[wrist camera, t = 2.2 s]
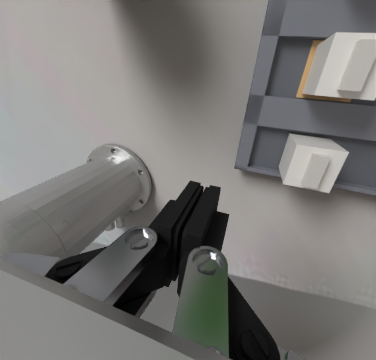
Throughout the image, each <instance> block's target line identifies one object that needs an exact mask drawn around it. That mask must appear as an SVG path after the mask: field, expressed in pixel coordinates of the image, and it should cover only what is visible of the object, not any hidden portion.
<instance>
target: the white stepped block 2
mask: <svg viewBox="0 0 376 360" xmlns="http://www.w3.org/2000/svg"><path fill="white" fill-rule="evenodd" d="M348 154H349V152H348V151H347V150H345V149H344V148H342V147H341V146H340V145H338V144H337V143H335V142H334V141H332V140H331V139H327V138H320V137H312V136H305V135H298V134H291V133H289V136H288V139H287V142H286V145H285V148H284V151H283V154H282V157H281V161H280V164H279V170H280V174H281V178H282V182H283V184H285V185H290V186H295V187H300V188H305V189H310V190H315V191H320V192H325V193H330V191H331V189H332V186H333V184H334V182H335V180H336V178H337V176H338V174H339V172H340V170H341V168H342V166H343V164H344V162H345V160H346V158H347V156H348Z"/></svg>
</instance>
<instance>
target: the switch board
mask: <svg viewBox="0 0 376 360" xmlns="http://www.w3.org/2000/svg"><path fill="white" fill-rule="evenodd" d="M336 32H349V33H376V0H269V2H268V6H267V11H266V16H265V21H264V26H263V31H262V36H261V41H260V45H259V50H258V55H257V60H256V65H255V70H254V75H253V80H252V84H251V89H250V94H249V99H248V104H247V109H246V114H245V119H244V123H243V128H242V133H241V138H240V143H239V148H238V153H237V158H236V162H235V167H234V168H235V169H240V170H245V171H250V172H256V173H261V174H266V175H271V176H277V177H281V174H280V170H279V164H280V161H281V157H282V154H283V151H284V148H285V145H286V142H287V139H288V136H289V133H291V134H298V135H305V136H312V137H320V138H327V139H331V140H332V141H334V142H335V143H337V144H338V145H340V146H341V147H342V148H344V149H345V150H347V151H348V152H349V154H348V156H347V158H346V160H345V162H344V164H343V166H342V168H341V170H340V172H339V174H338V176H337V178H336V180H335V182H334V184H333V186H332V187H334V188H339V189H344V190H350V191H355V192H360V193H365V194H370V195H376V98H375V100H374V101H373V100H362V99H351V98H340V97H328V96H317V95H309V94H302V92H303V89H304V86H305V82H306V79H307V76H308V73H309V70H310V67H311V64H312V61H313V57H314V54H315V51H316V48H317V45H319V44H320V43H321V42H323V41H324V40H326V39H327V38H329V37H330V36H331V35H333V34H334V33H336Z"/></svg>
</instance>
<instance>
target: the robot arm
mask: <svg viewBox="0 0 376 360" xmlns="http://www.w3.org/2000/svg"><path fill="white" fill-rule="evenodd" d="M220 189H221V187H216V186H212V185H210V187H206V188H205V190H204V192H203V186H200V183H198V182H194V181H190V182H189V183H188V185H187V186H186V187H185V189H184V190H183V191H182V193H181V194H180V196H179V197H178V198H177V200H176V201H175V200H170V201H169V202H168V203H167V204H166V205H165V207H164V208H163V209H162V211H161V212H160V213H159V214H158V216H157V217H156V218H155V219H154V221H153V222H152V223H151V225H150V226H149V227H148V228H147V227H134V228H132V229H129V230H128V231H126V232H125V233H124V234H122V235H121V236H120V237H119V238H118V239H116V240H115V241H114V242H113V243H112V244H110V245H109V246H107V247H104V248H100V249H97V250H93V251H89V252H86V253H82V254H80V253H81V252H82V251H83V250H84V249H85V248H86V247H87V246H89V245H90V244H91V243H92V242H93V241H94V240H95V239H96V238H97V237H98V236H99V235H100V234H101V233H102V232H104V231H105V230H106V231H110V230H113V229H114V228H115V224H114V221H115V220H116V226H117V228H123V227H124V219H123V217H124V216H125V215H126V214H127V213H128V212H133V211H137V210H139V209H141V208H142V207H143V206H144V205H145V204H146V203H147V202H148V200H149V198H150V196H151V191H152V184H151V179H150V175H149V173H148V170H147V169H146V167H145V165H144V164H143V162H142V161H141V160H140V159H139V158H138V157H137V156H136V155H135V154H134V153H133V152H131V151H130V150H128V149H127V148H124V147H122V146H119V145H115V144H107V145H103V146H100V147H98V148H96V149H95V150H93V151H92V152H91V154H90V155H89V157H88V159H87V163H86V164H84V165H82V166H79V167H77V168H75V169H73V170H70V171H68V172H66V173H64V174H61V175H59V176H57V177H54V178H52V179H50V180H48V181H45V182H43V183H41V184H39V185H36V186H34V187H32V188H30V189H27V190H25V191H23V192H21V193H18V194H16V195H14V196H12V197H9V198H7V199H5V200H3V201H0V360H305V359H303V358H302V357H300V356H299V355H297V354H295V353H294V352H292V351H291V350H289V349H288V351H287V352H286V351H285V350H283V349H282V348H280V347H279V346H277V345H276V343H275V341H274V340H273V338H272V336H271V335H270V333H269V332H268V330H267V329H266V328H265V326H264V325H263V324H262V322H261V321H260V319H259V318H258V317H257V315H256V314H255V313H254V311H253V310H252V309H251V307H250V306H249V304H248V303H247V302H246V300H245V299H244V298H243V296H242V295H241V293H240V292H239V291H238V289H237V288H236V286H235V285H234V284H233V282H232V281H231V280H230V278H229V277H228V264H227V260H226V258H225V256H224V255H223V254H222V253H221V249H222V245H223V241H224V236H225V232H226V227H227V223H228V218H229V214H226V213H222V212H218V211H217V206H218V201H219V195H220ZM178 274H179V277H178V289H177V293H178V295H179V303H178V308H177V312H176V317H175V322H174V327H173V331H172V333H171V332H169V331H167V330H165V329H162V328H160V327H158V326H156V325H153V324H151V323H149V322H147V321H144V320H142V319H140V316H141V315H142V313H143V312H144V311H145V309H146V307H147V306H148V305H149V303H150V302H151V300H152V299H153V297H154V296H155V294H156V291H157V289H159V288H162V287H163V286H167V287H169V285H170V283H171V281H172V280H173V281H175V280H176V279H177V276H178Z"/></svg>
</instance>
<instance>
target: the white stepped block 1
mask: <svg viewBox="0 0 376 360" xmlns="http://www.w3.org/2000/svg"><path fill="white" fill-rule="evenodd" d="M302 94H309V95H317V96H328V97H340V98H351V99H362V100H373V101H374V100H375V98H376V33H349V32H336V33H334V34H333V35H331V36H330V37H329V38H327V39H326V40H324V41H323V42H321V43H320V44H319V45H317V48H316V51H315V54H314V57H313V61H312V64H311V67H310V70H309V73H308V76H307V79H306V82H305V86H304V89H303V92H302Z"/></svg>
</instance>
